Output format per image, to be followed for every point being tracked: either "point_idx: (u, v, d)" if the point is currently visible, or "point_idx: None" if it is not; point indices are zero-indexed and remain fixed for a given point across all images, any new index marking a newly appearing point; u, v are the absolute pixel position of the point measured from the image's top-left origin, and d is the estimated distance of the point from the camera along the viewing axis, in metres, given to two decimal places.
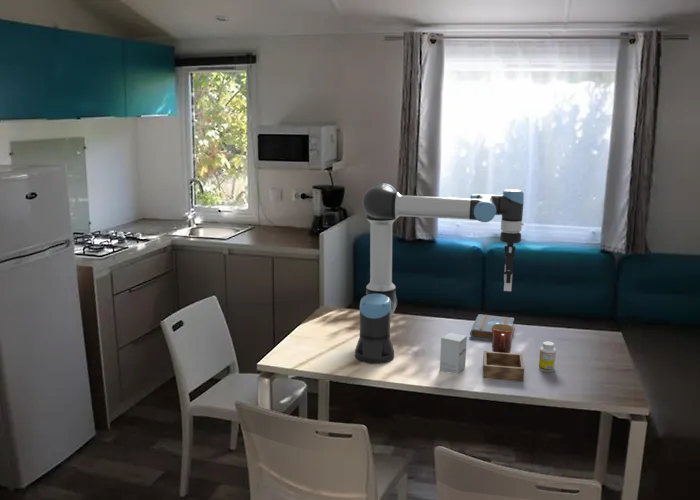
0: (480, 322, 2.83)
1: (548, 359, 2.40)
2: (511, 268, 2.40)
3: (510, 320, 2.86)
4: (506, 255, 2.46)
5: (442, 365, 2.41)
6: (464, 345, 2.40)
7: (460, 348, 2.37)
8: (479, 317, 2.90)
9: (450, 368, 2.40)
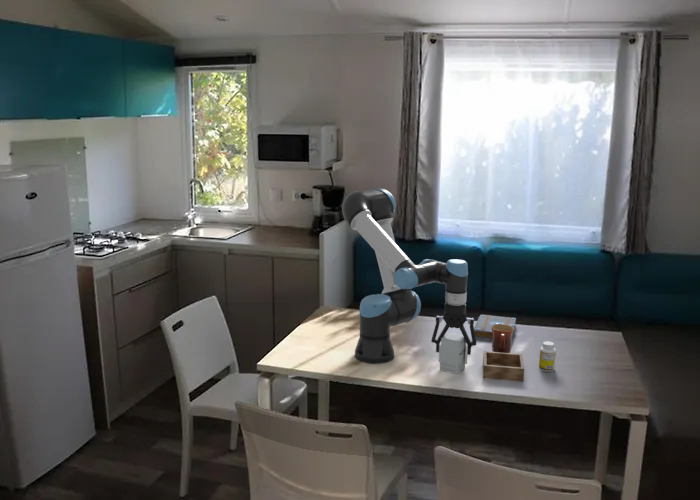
0: (482, 322, 2.83)
1: (548, 359, 2.40)
2: (432, 336, 2.41)
3: (512, 320, 2.86)
4: None
5: (442, 365, 2.41)
6: (464, 345, 2.40)
7: (460, 348, 2.37)
8: (481, 317, 2.89)
9: (450, 368, 2.40)
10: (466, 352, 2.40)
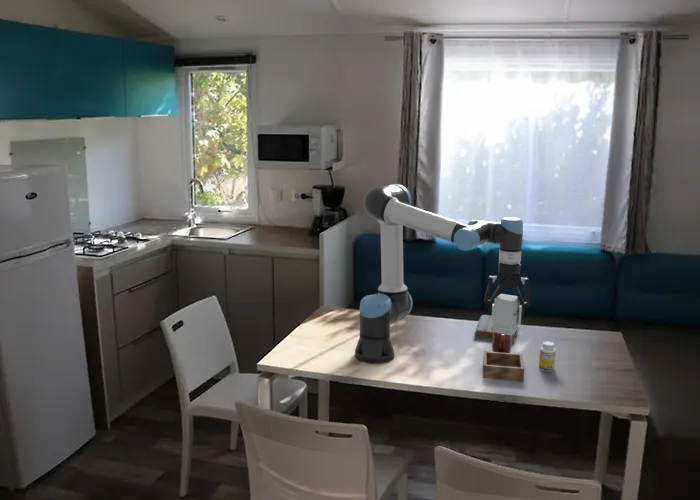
0: (484, 323, 2.83)
1: (548, 359, 2.40)
2: (485, 297, 2.35)
3: None
4: (498, 285, 2.35)
5: (495, 327, 2.35)
6: (518, 306, 2.34)
7: (514, 308, 2.31)
8: (483, 318, 2.89)
9: (504, 329, 2.33)
10: (520, 313, 2.34)
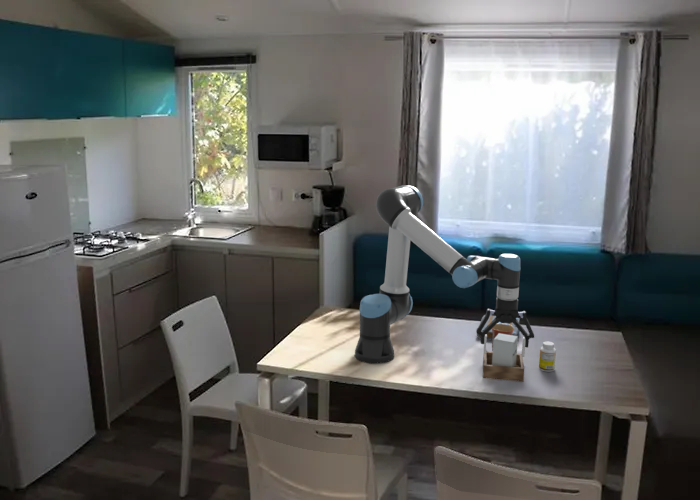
0: (486, 323, 2.82)
1: (548, 359, 2.40)
2: (478, 328, 2.38)
3: None
4: None
5: None
6: (516, 346, 2.38)
7: (513, 349, 2.35)
8: None
9: None
10: (524, 345, 2.36)
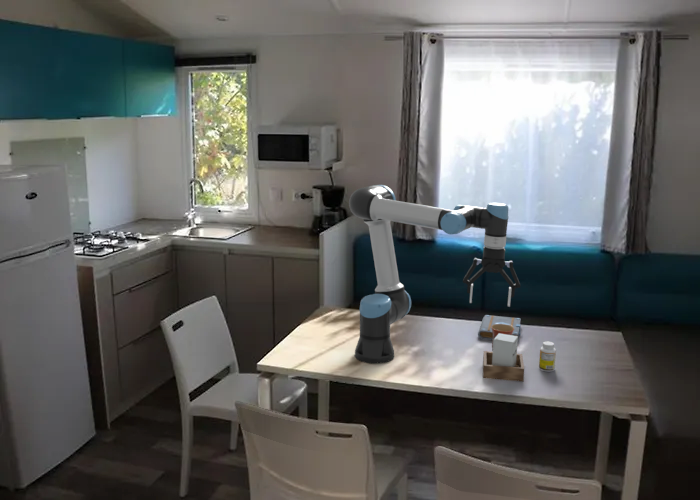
0: (487, 323, 2.82)
1: (548, 359, 2.40)
2: (465, 277, 2.39)
3: (517, 321, 2.85)
4: (481, 268, 2.39)
5: None
6: (516, 346, 2.38)
7: (513, 349, 2.35)
8: (486, 318, 2.89)
9: None
10: (510, 294, 2.36)
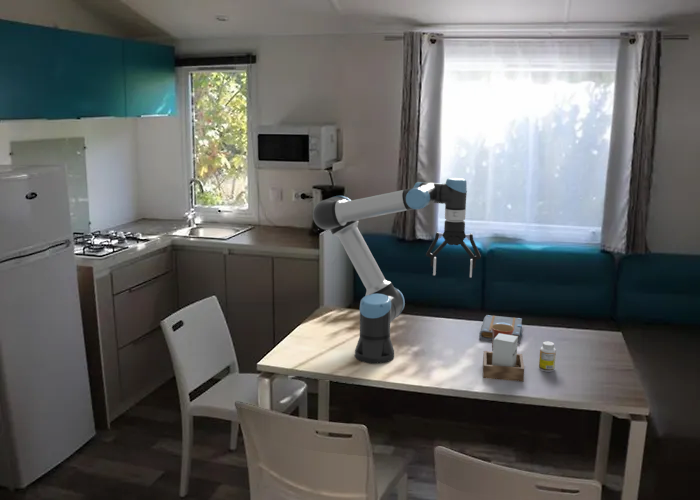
0: (488, 323, 2.82)
1: (548, 359, 2.40)
2: (428, 250, 2.49)
3: (518, 321, 2.85)
4: None
5: None
6: (516, 346, 2.38)
7: (513, 349, 2.35)
8: (487, 318, 2.88)
9: None
10: (471, 266, 2.46)
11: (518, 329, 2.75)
